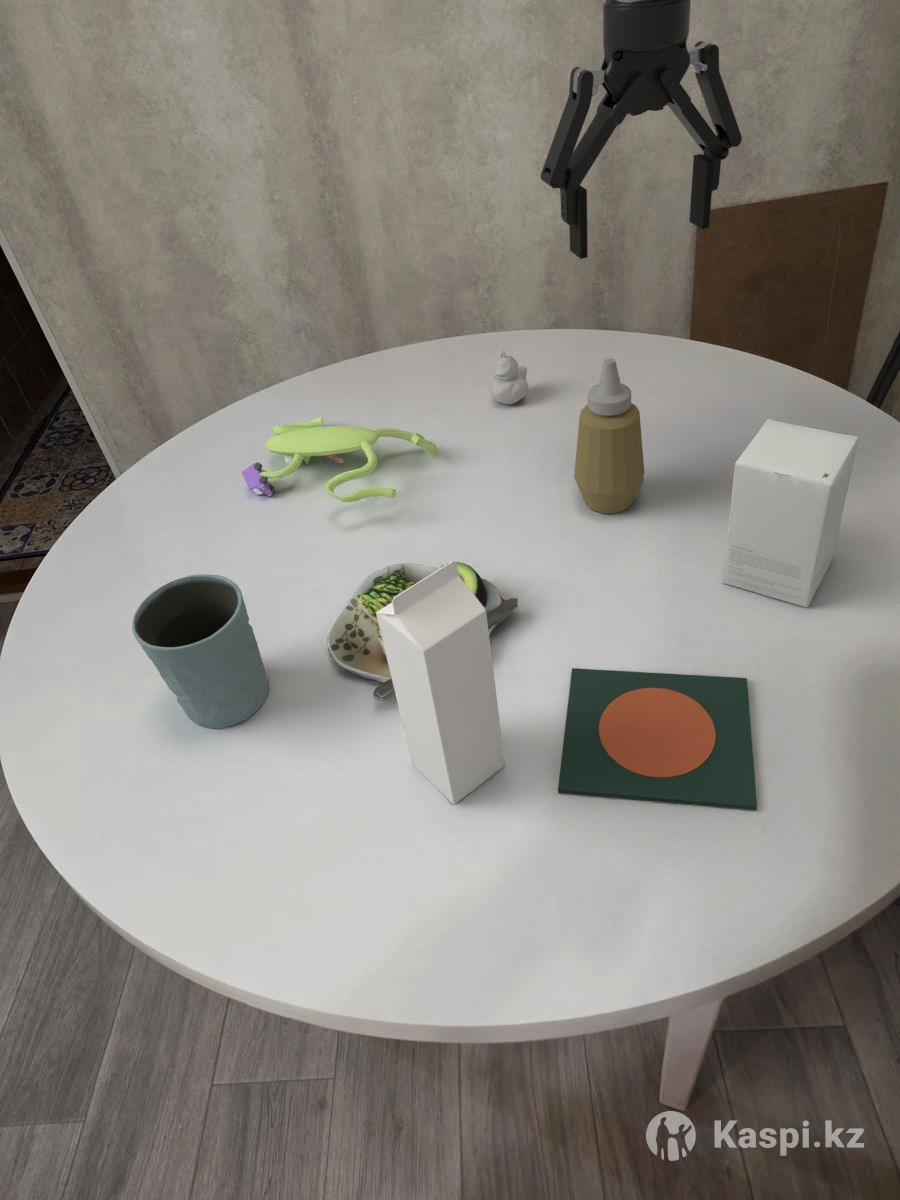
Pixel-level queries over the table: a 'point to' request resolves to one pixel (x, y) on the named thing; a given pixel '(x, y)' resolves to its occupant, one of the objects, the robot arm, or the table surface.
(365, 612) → the salad plate
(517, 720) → the table surface
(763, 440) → the white product box
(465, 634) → the milk
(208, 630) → the grey-green cup
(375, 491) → the figurine
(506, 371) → the rubber duck
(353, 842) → the table surface
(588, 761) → the mat
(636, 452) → the squeeze bottle
